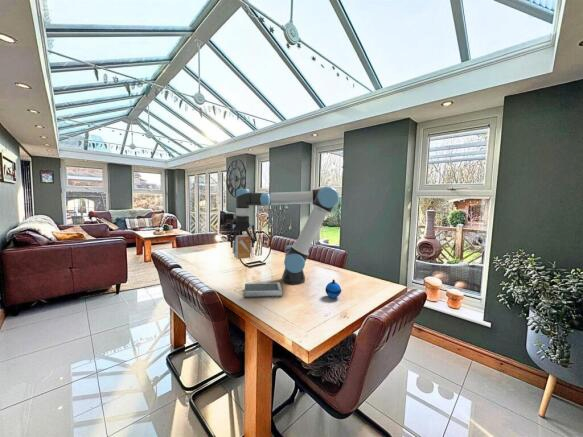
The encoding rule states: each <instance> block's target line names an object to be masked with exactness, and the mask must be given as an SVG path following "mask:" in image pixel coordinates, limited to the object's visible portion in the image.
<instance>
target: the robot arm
mask: <svg viewBox="0 0 583 437" xmlns="http://www.w3.org/2000/svg"><path fill="white" fill-rule="evenodd" d="M235 195H236V196H235V215H236V216H235V224H233V223H232V224H230V226H229V227H230V231H229V234H228V237H227V240H226V241H227V242H229V243H230V248H231V249H232V254H234V239H235V237H236V236H238V234H239V232H246V235H248V236H251V253H250V254H252V253H253V248H254V247H255V242H257V241H258V238H257V235H256V234H257V233H256V231H255V224H251V223H250V206H251V207H252V206H253V207H254V206H256V207H257V206H259V207H260V206H261V207H268V206H270V205H271V206H273V205H297V204H298V205H302V204H303V205H304V204H307V205H308V204H310V205H311V206H312V207H313V208H312V210H311V212H310V214H309V216H308V218H307V220H306V222H305V223H304V226H303V228H302V229H301V231H300V234H299V236H298V238H297V240H296V242H295V244H292V245H286V246H285V250H284V251H285V253H284V254H285V255H284V263H283V264H284V270H283V273H282V276H281V282H283V283H285V284H287V285H288V284H289V285H301V284H303V283H305V282H306V275H305V272H304V269H305V265H306V261H307V259H308V258H309V255H310V254H309V251H310V248H311V246H312V243H313V242H314V240H315V238H316V236H317V234H318V232H319V230H320V228H321V227H322V224H323V222H324V220H325V218H326V217H327V215H329V214H331V212H332V211H333V208H334V207H335V206H336V205H337V204H338V202H339V198H340V196H339V193H338V190H336V189H335V188H334V187H331V186H323V187H321V188H317V189H311V190H310V191H309V190H307V191H289V192H288V191H287V192H286V191H284V192H250V189H248V188H238V189H236V194H235ZM234 228H236V231H235V233H234V234H233V236H232V233H233V230H234ZM249 228H250V229H251V231H252V234H253V236H252V235H251V233H250V231H249ZM231 237H232V238H231Z"/></svg>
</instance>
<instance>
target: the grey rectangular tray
mask: <svg viewBox="0 0 583 437" xmlns="http://www.w3.org/2000/svg"><path fill="white" fill-rule="evenodd" d="M243 293H244V294H243V295H244V298H243V299H263V298H264V299H266V298H267V299H268V298H282V296H283V289H282V286H281V283H280V282H279V281H278V282H262V283H261V282H258V283H257V282H256V283H255V282H253V283H251V282H250V283H244V291H243Z"/></svg>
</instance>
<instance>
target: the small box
mask: <svg viewBox="0 0 583 437" xmlns="http://www.w3.org/2000/svg"><path fill="white" fill-rule="evenodd" d="M251 236H252V235H251ZM251 236H248V234H239V235H238V234H237V235H236V237H235V239H234V240H233V242H234V255H233V257H234V259H237V260H241V259H251V254H252V253H251V242H252V241H251Z"/></svg>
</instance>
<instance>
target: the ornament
mask: <svg viewBox="0 0 583 437" xmlns="http://www.w3.org/2000/svg"><path fill="white" fill-rule="evenodd" d="M325 292H326V296H328V297H329V298H332V299H335V298H338V297H339V296H340V295H341V293H342V288H341V285H340V284H339V283H337V282H336V280H335V279H332V281H331V282H328V283H327V285H326V287H325Z"/></svg>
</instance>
